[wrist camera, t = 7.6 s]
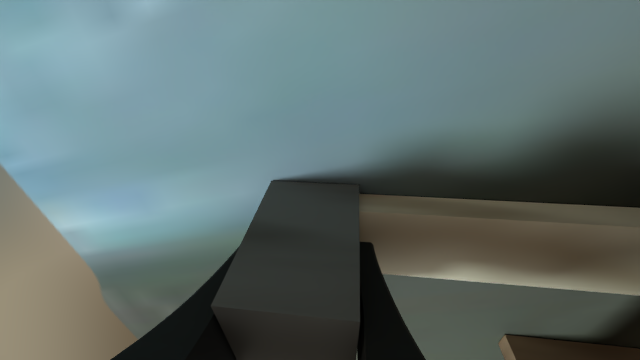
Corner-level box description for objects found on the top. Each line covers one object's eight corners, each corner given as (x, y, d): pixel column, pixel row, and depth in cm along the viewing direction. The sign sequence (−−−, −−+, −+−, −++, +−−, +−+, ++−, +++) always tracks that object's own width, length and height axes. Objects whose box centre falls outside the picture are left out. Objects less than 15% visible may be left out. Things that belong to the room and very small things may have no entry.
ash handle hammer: (619, 279, 13) (783, 453, 8) (283, 253, 15) (245, 378, 10) (699, 200, 10) (1034, 393, 5) (271, 180, 12) (210, 305, 7)
